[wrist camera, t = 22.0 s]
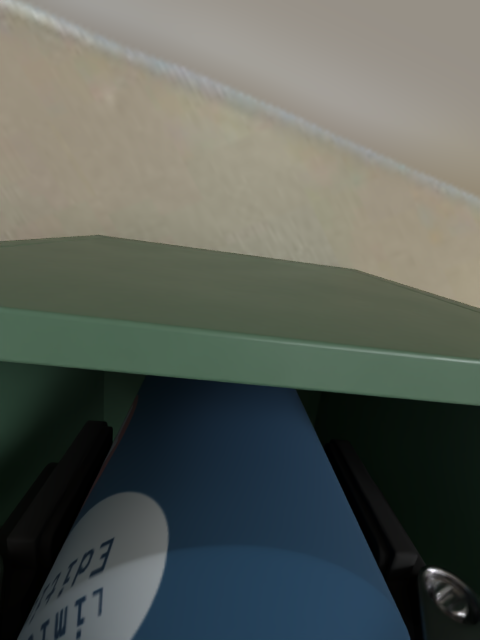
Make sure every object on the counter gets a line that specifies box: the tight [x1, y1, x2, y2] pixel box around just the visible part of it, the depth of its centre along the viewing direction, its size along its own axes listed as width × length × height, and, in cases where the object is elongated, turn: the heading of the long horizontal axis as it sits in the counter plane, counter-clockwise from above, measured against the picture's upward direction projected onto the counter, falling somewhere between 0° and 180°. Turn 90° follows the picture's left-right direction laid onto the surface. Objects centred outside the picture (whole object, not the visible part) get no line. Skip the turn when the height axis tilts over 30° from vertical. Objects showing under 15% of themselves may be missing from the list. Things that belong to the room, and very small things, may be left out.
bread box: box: [0, 235, 480, 598], centre depth 13 cm, size 15×16×15 cm
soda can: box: [17, 375, 410, 640], centre depth 9 cm, size 7×7×12 cm
